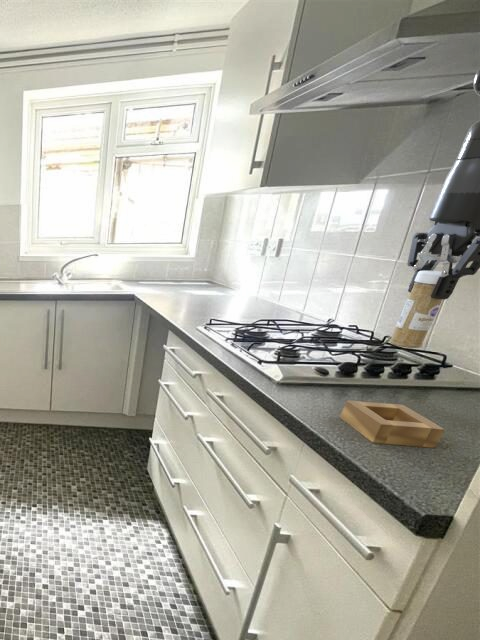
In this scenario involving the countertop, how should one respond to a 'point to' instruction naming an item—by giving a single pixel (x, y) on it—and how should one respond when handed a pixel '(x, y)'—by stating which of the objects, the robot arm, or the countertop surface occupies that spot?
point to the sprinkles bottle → (417, 312)
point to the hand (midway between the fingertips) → (426, 295)
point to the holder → (391, 424)
